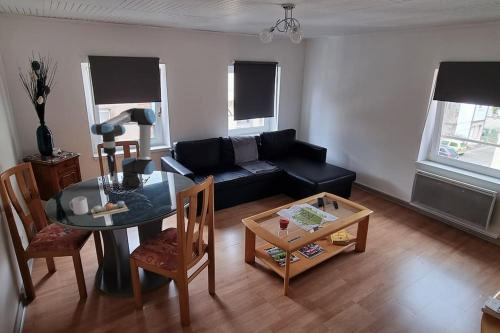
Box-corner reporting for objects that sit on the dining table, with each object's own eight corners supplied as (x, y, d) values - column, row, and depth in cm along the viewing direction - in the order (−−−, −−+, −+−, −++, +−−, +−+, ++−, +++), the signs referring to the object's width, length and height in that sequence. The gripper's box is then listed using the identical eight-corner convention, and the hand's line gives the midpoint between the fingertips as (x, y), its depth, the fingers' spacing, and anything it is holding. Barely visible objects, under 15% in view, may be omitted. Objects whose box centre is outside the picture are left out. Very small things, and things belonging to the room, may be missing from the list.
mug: (75, 209, 215) (73, 195, 212) (91, 211, 213) (89, 196, 210) (66, 215, 207) (64, 200, 204) (83, 216, 205) (80, 201, 202)
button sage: (93, 211, 210) (92, 206, 209) (101, 209, 212) (100, 204, 211) (94, 214, 206) (93, 209, 205) (102, 212, 209) (101, 207, 207)
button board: (90, 211, 214) (90, 209, 213) (123, 204, 226) (123, 202, 225) (94, 219, 202) (94, 217, 201) (129, 211, 214) (129, 210, 213)
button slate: (116, 206, 218) (116, 201, 217) (123, 205, 221) (123, 200, 219) (118, 209, 214) (117, 204, 213) (125, 207, 217) (124, 202, 216)
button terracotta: (105, 209, 214) (104, 204, 213) (112, 207, 216) (112, 202, 215) (106, 211, 210) (106, 206, 209) (114, 210, 213) (113, 205, 212)
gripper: (101, 145, 211) (104, 178, 218) (105, 149, 201) (108, 183, 207) (113, 144, 215) (116, 177, 222) (117, 148, 205) (120, 182, 211)
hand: (112, 180), depth 215 cm, fingers closed
